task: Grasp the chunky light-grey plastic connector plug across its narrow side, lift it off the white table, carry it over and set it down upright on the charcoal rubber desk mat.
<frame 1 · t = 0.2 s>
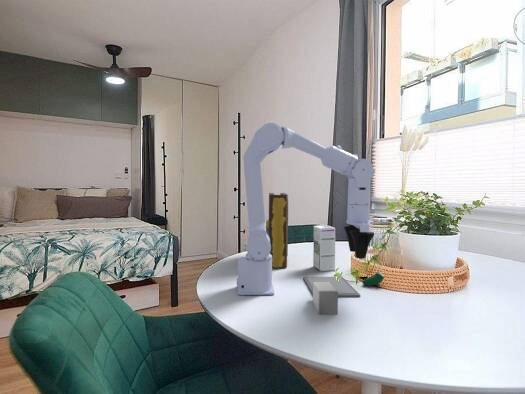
hand: (357, 254, 81), 10 cm above the table, fingers open, 7 cm apart
mat: (329, 286, 84), on the table
gaming controller: (371, 283, 89), on the table
syrup box: (323, 269, 103), on the table
plug: (324, 308, 70), on the table
book: (276, 260, 113), on the table
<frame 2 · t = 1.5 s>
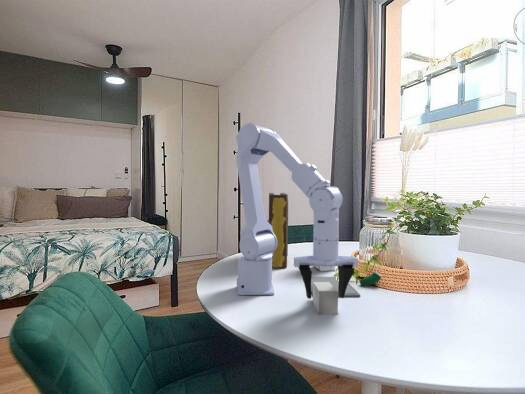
hand: (325, 296, 70), 3 cm above the table, fingers open, 7 cm apart
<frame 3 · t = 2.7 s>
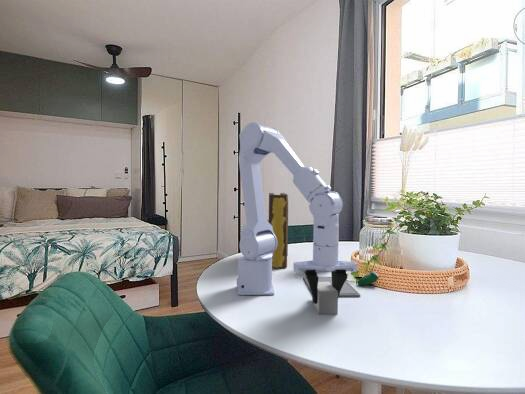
hand: (324, 301, 70), 1 cm above the table, fingers closed on plug, 4 cm apart
plug: (324, 307, 70), on the table, touching gripper
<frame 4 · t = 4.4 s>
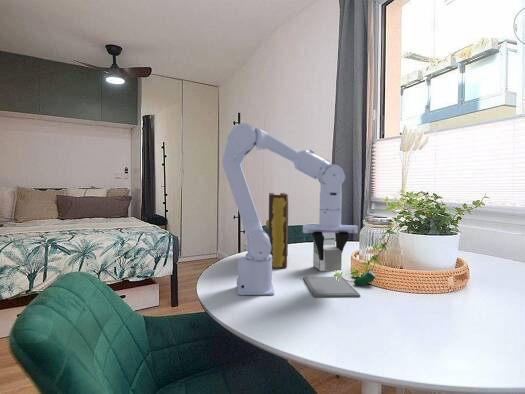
hand: (329, 259, 81), 8 cm above the table, fingers closed on plug, 4 cm apart
plug: (329, 266, 81), point 7 cm above the table, touching gripper
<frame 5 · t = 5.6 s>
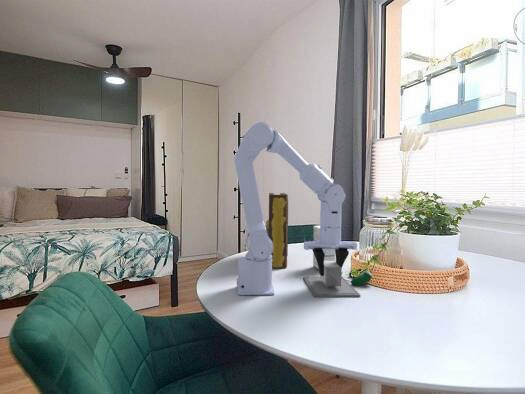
hand: (329, 274, 84), 3 cm above the table, fingers closed on plug, 4 cm apart
plug: (330, 281, 84), point 2 cm above the table, touching gripper
when the fingers open (3 cm above the table, at t = 6.3 s): plug drops 1 cm, resting on mat.
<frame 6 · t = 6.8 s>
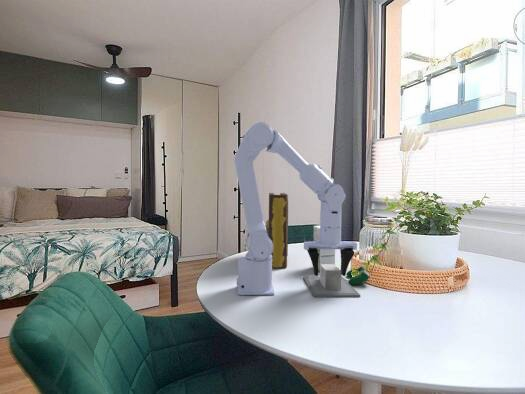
hand: (329, 274, 84), 3 cm above the table, fingers open, 7 cm apart
plug: (329, 285, 84), point 1 cm above the table, touching mat
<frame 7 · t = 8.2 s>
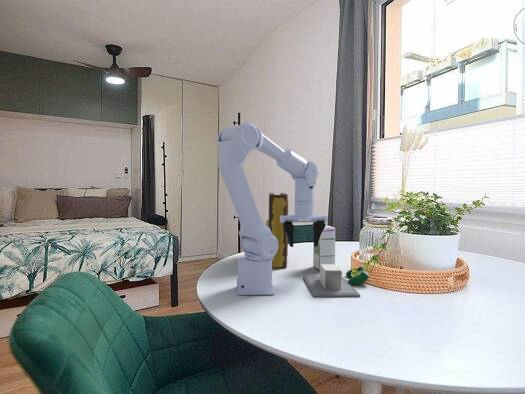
hand: (303, 245, 92), 10 cm above the table, fingers open, 7 cm apart
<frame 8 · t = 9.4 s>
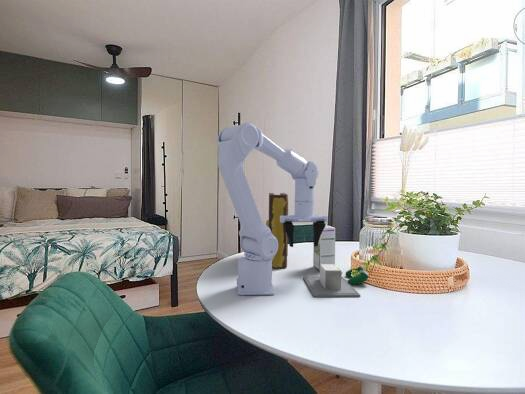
hand: (303, 245, 92), 10 cm above the table, fingers open, 7 cm apart
gaming controller: (356, 282, 90), on the table, touching mat
everything else where it was.
at the end: plug inside the target area on the mat (0.5 cm from its centre), point 0.6 cm above the mat's base; plug tilted 0°; the gripper is holding nothing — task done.
